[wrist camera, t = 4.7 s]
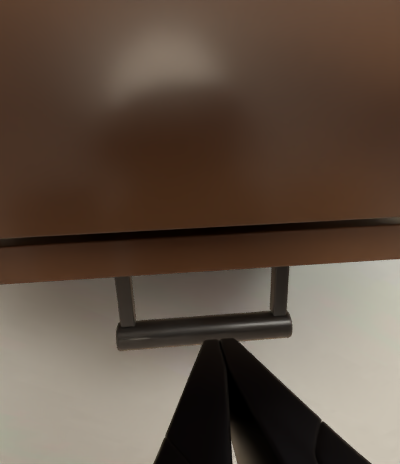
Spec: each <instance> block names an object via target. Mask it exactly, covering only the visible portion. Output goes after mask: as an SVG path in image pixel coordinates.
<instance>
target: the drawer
mask: <svg viewBox="0 0 400 464" xmlns="http://www.w3.org/2000/svg"><path fill="white" fill-rule="evenodd" d="M390 259H400V217H391V218H373V219H355V220H336V221H318V222H300V223H281V224H263V225H244V226H226V227H208V228H189V229H171V230H152V231H134V232H116V233H97V234H79V235H61V236H42V237H24V238H5V239H0V285H1V284H16V283H32V282H48V281H63V280H79V279H94V278H110V277H114V278H115V286H116V293H117V301H118V309H119V317H120V322H119V323H118V325H117V330H116V344H117V348H118V350H119V351H127V350H140V349H152V348H164V347H177V346H189V345H202V343H203V341H204V340H207V339H218V340H220V339H221V338H235V339H236V340H237V341H238V342H239V341H251V340H264V339H276V338H289V337H290V336H291V335H292V321H291V317H290V314H289V312H288V311H287V295H288V280H289V266H297V265H312V264H328V263H343V262H359V261H375V260H390ZM266 267H272V269H271V292H270V310H271V311H260V312H246V313H233V314H220V315H206V316H193V317H179V318H166V319H152V320H139V321H136V311H135V301H134V292H133V283H132V276H141V275H157V274H172V273H188V272H203V271H219V270H234V269H250V268H266Z"/></svg>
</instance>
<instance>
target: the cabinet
mask: <svg viewBox="0 0 400 464" xmlns="http://www.w3.org/2000/svg"><path fill="white" fill-rule="evenodd" d="M391 217H400V0H0V239H5V238H24V237H42V236H61V235H79V234H97V233H116V232H134V231H152V230H171V229H189V228H208V227H226V226H244V225H263V224H281V223H300V222H318V221H336V220H355V219H373V218H391Z"/></svg>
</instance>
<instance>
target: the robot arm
mask: <svg viewBox="0 0 400 464" xmlns="http://www.w3.org/2000/svg"><path fill="white" fill-rule="evenodd" d="M231 441H232V445H233V448H234V452H235V456H236V460H237V464H371V463H370V462H369V461H368V460H367V459H365V458H364V457H363V456H362V455H360V454H359V453H358V452H357V451H356V450H355V449H353V448H352V447H351V446H350V445H349V444H348V443H347V442H346V441H345V440H343V439H342V438H341V437H340V436H339V435H338V434H337V433H336V432H335V431H333V430H332V429H331V428H330V427H329V426H328V425H327V424H326V423H325V422H321V419H320V418H319V417H318V416H317V415H316V414H315V413H314V412H313V411H312V410H311V409H310V408H309V407H308V406H307V405H305V404H304V403H303V402H302V401H301V400H300V399H299V398H298V397H297V396H296V395H295V394H294V393H293V392H292V391H291V390H289V389H288V388H287V387H286V386H285V385H284V384H283V383H282V382H281V381H280V380H279V379H278V378H277V377H276V376H274V375H273V374H272V373H271V372H270V371H269V370H268V369H267V368H266V367H265V366H264V365H263V364H262V363H261V362H260V361H258V360H257V359H256V358H255V357H254V356H253V355H252V354H251V353H250V352H249V351H248V350H247V349H246V348H245V347H244V346H242V345H241V344H240V343H239V342H238V341H237V340H236V339H235V338H221V339H220V340H218V339H207V340H204V341H203V343H202V346H201V348H200V351H199V353H198V356H197V358H196V361H195V363H194V366H193V368H192V371H191V373H190V376H189V378H188V381H187V383H186V386H185V388H184V390H183V393H182V395H181V398H180V400H179V403H178V405H177V408H176V410H175V413H174V415H173V418H172V420H171V423H170V425H169V428H168V430H167V433H166V435H165V438H164V440H163V442H162V444H161V447H160V449H159V452H158V454H157V456H156V459H155V461H154V463H153V464H232V447H231Z"/></svg>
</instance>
